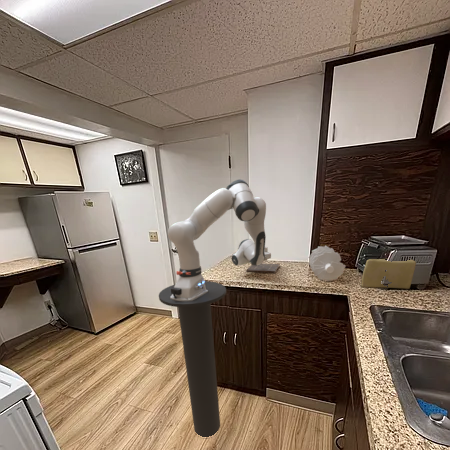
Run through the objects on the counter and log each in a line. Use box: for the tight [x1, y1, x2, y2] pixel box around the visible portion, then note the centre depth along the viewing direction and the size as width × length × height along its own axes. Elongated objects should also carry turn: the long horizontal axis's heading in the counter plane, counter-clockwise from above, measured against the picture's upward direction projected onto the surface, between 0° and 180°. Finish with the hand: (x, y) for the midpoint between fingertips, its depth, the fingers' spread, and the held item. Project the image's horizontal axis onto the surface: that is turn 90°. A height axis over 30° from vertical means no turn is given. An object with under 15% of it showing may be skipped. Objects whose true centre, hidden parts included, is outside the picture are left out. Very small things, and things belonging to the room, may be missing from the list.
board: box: [245, 262, 281, 274], centre depth 179 cm, size 20×20×2 cm
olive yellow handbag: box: [360, 258, 417, 290], centre depth 130 cm, size 22×10×15 cm, turn 81°
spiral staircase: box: [308, 245, 346, 282], centre depth 151 cm, size 18×18×25 cm
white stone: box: [263, 246, 269, 262], centre depth 175 cm, size 5×5×9 cm
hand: (264, 252), depth 175 cm, fingers closed on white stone, 5 cm apart
